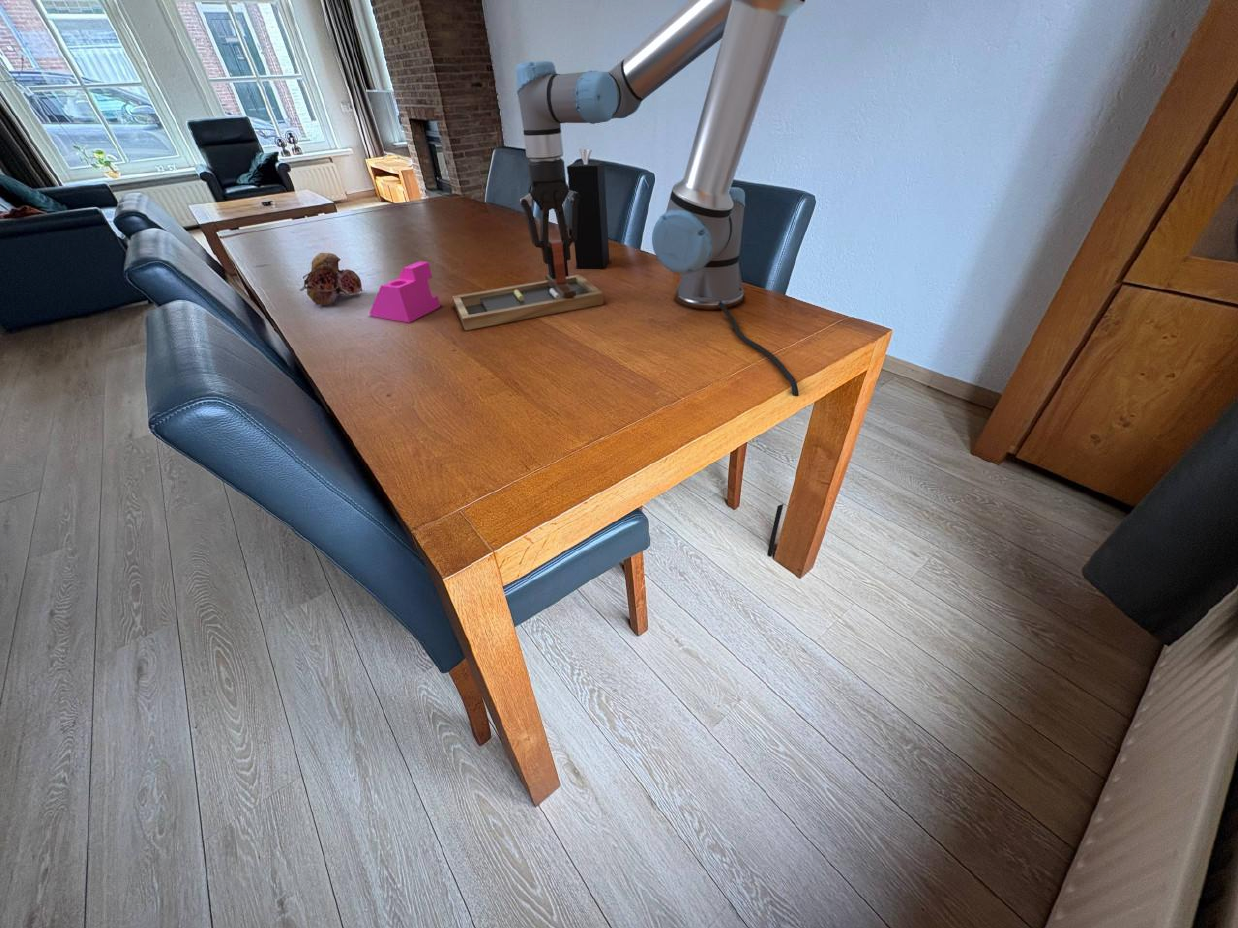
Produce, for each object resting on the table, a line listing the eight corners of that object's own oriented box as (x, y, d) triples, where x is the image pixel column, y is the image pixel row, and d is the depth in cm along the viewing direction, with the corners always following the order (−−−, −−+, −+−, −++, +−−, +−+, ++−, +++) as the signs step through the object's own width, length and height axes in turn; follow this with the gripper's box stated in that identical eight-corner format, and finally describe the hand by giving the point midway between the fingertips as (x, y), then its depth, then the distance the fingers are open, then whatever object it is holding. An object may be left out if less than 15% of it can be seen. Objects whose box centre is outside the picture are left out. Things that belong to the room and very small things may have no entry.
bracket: (440, 306, 118) (428, 262, 112) (409, 322, 111) (394, 275, 104) (402, 301, 122) (389, 258, 116) (370, 316, 115) (354, 271, 109)
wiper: (576, 300, 112) (571, 248, 105) (565, 302, 111) (559, 250, 104) (557, 281, 123) (551, 233, 116) (546, 283, 122) (539, 235, 116)
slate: (603, 304, 115) (602, 293, 113) (465, 330, 106) (462, 318, 104) (580, 284, 126) (580, 274, 125) (454, 307, 117) (452, 296, 116)
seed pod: (280, 291, 111) (340, 259, 113) (272, 259, 120) (327, 230, 122) (321, 334, 122) (375, 304, 124) (311, 302, 131) (361, 275, 133)
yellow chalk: (522, 302, 114) (525, 297, 114) (517, 299, 113) (520, 294, 113) (517, 296, 118) (520, 291, 117) (512, 293, 117) (515, 288, 117)
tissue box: (603, 269, 136) (596, 150, 119) (576, 268, 138) (565, 151, 121) (609, 260, 142) (603, 146, 125) (583, 260, 144) (573, 147, 127)
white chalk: (554, 298, 113) (559, 301, 114) (556, 293, 112) (561, 295, 113) (548, 292, 117) (553, 294, 117) (550, 287, 116) (555, 289, 117)
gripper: (575, 154, 106) (584, 267, 120) (504, 160, 101) (522, 277, 116) (587, 157, 100) (595, 275, 114) (512, 164, 96) (530, 286, 110)
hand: (559, 276), depth 115 cm, fingers closed on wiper, 2 cm apart
